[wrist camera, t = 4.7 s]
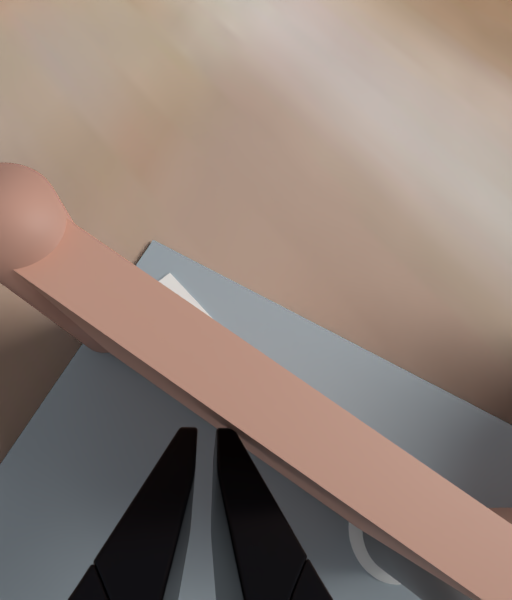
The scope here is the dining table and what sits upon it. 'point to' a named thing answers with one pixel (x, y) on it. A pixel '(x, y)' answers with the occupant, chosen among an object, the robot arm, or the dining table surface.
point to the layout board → (173, 415)
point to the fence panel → (252, 400)
